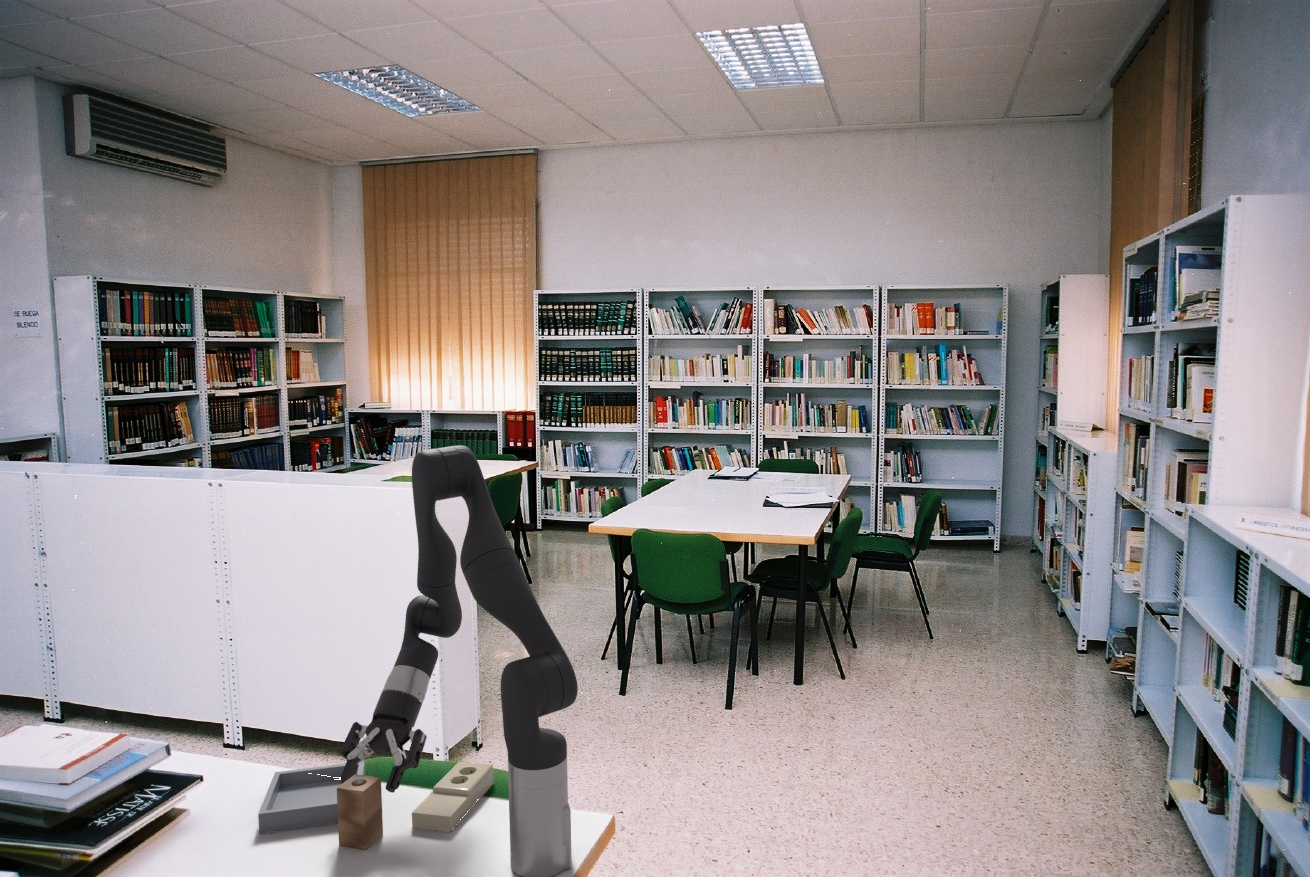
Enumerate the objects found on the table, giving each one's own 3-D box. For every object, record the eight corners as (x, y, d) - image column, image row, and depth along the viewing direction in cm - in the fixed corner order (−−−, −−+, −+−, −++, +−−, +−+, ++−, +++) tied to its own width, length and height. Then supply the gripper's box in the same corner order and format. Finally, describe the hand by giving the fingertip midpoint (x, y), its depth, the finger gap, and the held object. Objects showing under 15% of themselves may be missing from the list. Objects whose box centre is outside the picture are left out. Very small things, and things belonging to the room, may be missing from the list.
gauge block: (383, 834, 142) (380, 776, 142) (365, 850, 137) (363, 791, 137) (357, 830, 144) (355, 773, 143) (339, 846, 139) (336, 787, 138)
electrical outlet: (411, 807, 144) (458, 760, 162) (412, 830, 144) (459, 781, 162) (450, 811, 142) (493, 763, 160) (450, 834, 143) (494, 784, 160)
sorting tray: (365, 778, 162) (364, 761, 162) (358, 820, 147) (357, 800, 147) (275, 790, 158) (275, 772, 158) (259, 833, 143) (258, 814, 143)
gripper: (359, 684, 152) (320, 775, 141) (429, 691, 148) (395, 784, 138) (377, 702, 157) (341, 790, 147) (445, 709, 153) (413, 800, 143)
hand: (367, 787), depth 142 cm, fingers open, 8 cm apart
